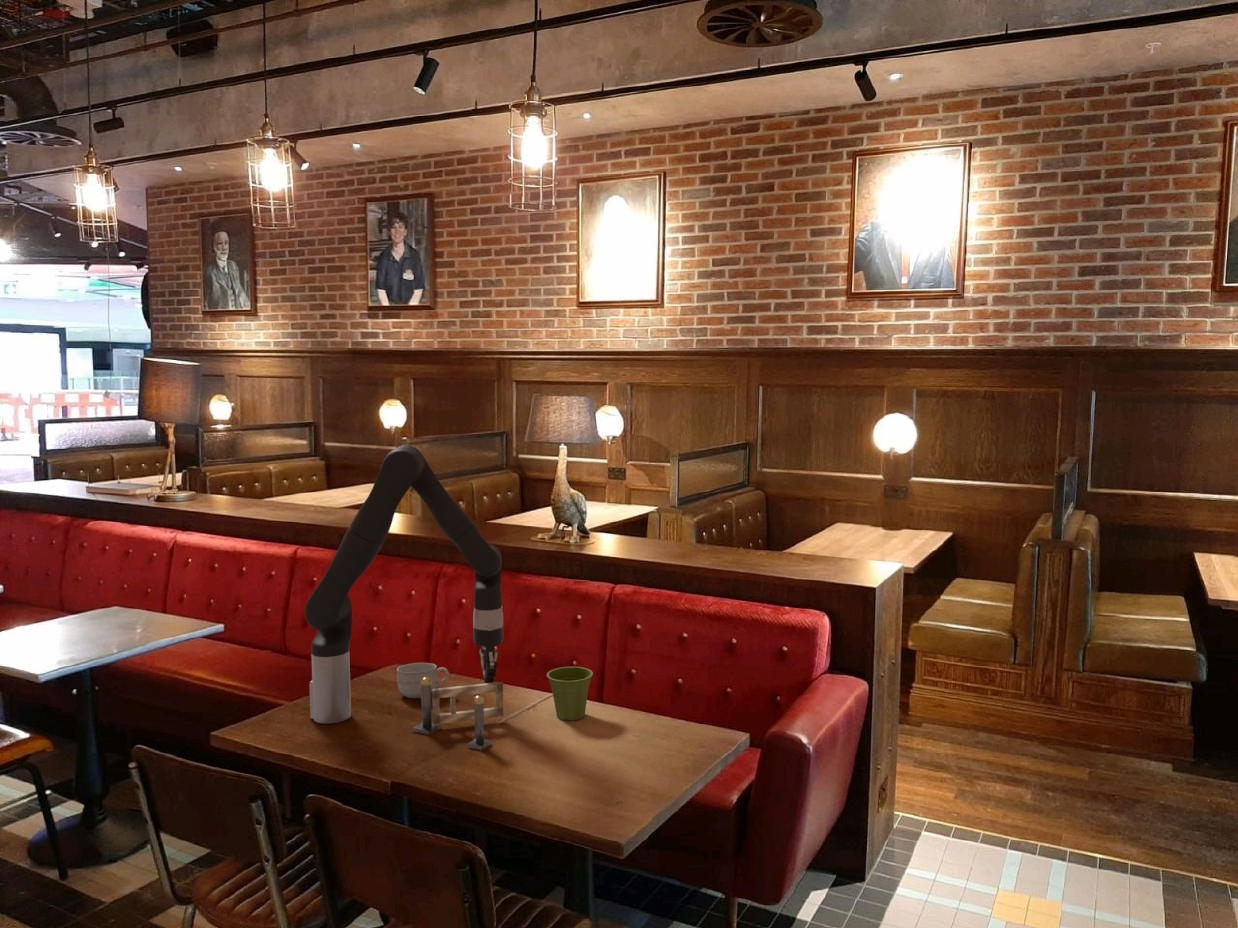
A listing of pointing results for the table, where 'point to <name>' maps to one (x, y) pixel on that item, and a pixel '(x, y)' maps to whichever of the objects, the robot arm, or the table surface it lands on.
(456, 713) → the gate
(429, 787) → the table surface
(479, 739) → the latch post
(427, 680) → the hinge post
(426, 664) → the teacup
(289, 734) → the table surface
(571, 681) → the plant pot
